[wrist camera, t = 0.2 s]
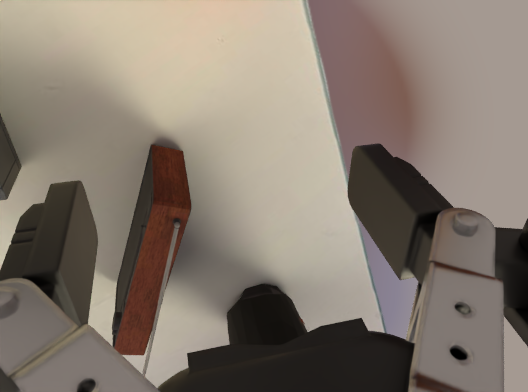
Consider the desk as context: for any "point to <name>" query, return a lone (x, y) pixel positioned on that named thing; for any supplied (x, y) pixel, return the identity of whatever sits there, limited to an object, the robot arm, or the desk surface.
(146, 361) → the radio
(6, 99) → the desk surface
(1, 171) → the rack
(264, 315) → the portable speaker
